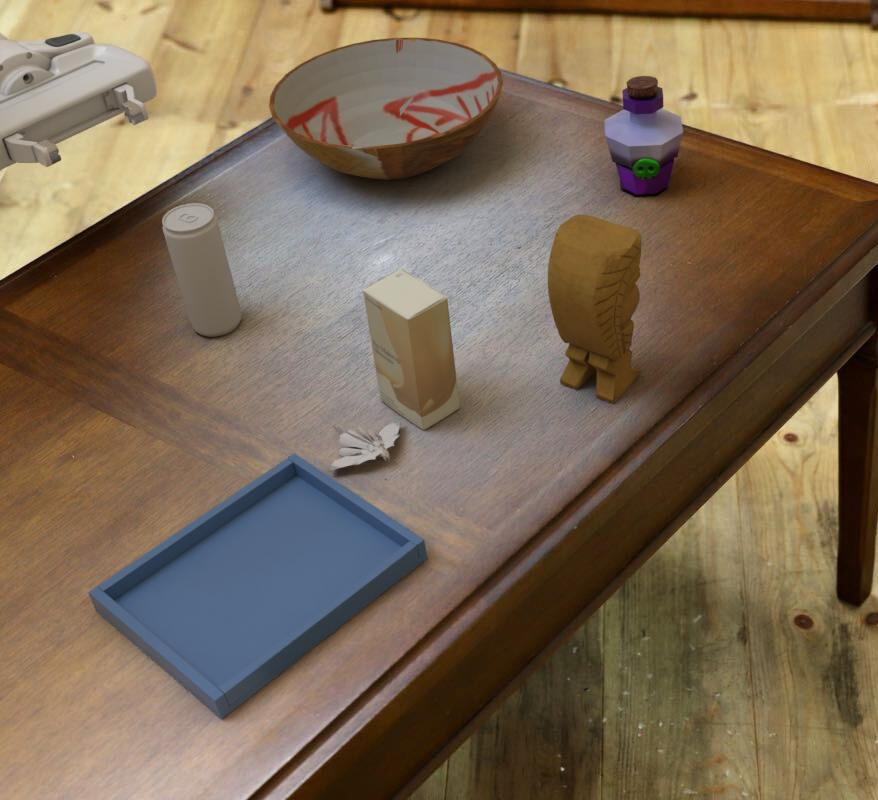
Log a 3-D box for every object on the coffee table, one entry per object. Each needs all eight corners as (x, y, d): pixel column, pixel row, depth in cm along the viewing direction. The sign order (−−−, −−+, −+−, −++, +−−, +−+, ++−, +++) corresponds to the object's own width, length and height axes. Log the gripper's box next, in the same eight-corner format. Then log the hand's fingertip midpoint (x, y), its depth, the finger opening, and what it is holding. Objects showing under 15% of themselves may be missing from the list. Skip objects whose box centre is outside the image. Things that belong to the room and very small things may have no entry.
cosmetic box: (378, 401, 121) (357, 287, 113) (417, 377, 123) (398, 264, 115) (425, 433, 117) (407, 318, 109) (464, 409, 120) (448, 294, 112)
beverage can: (218, 345, 128) (188, 237, 120) (180, 330, 130) (148, 222, 122) (253, 318, 131) (226, 210, 123) (216, 303, 133) (187, 197, 125)
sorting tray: (221, 719, 95) (215, 700, 94) (95, 610, 103) (87, 592, 102) (428, 558, 106) (424, 539, 105) (299, 471, 114) (294, 452, 113)
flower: (299, 463, 117) (290, 437, 115) (370, 415, 121) (362, 389, 120) (354, 491, 112) (345, 464, 110) (426, 440, 116) (419, 413, 115)
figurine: (651, 373, 122) (647, 231, 113) (612, 415, 118) (605, 272, 108) (584, 349, 125) (576, 209, 116) (544, 390, 121) (531, 248, 111)
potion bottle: (624, 213, 142) (621, 109, 135) (591, 174, 148) (586, 72, 141) (699, 192, 145) (700, 89, 137) (663, 155, 151) (662, 54, 143)
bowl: (267, 221, 144) (251, 154, 139) (299, 105, 163) (286, 42, 158) (507, 208, 144) (500, 141, 139) (511, 93, 163) (505, 30, 158)
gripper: (-95, 105, 126) (-16, 152, 119) (97, 24, 138) (179, 62, 130) (-70, 165, 131) (7, 213, 123) (114, 81, 142) (195, 122, 135)
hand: (97, 135), depth 127 cm, fingers open, 8 cm apart
